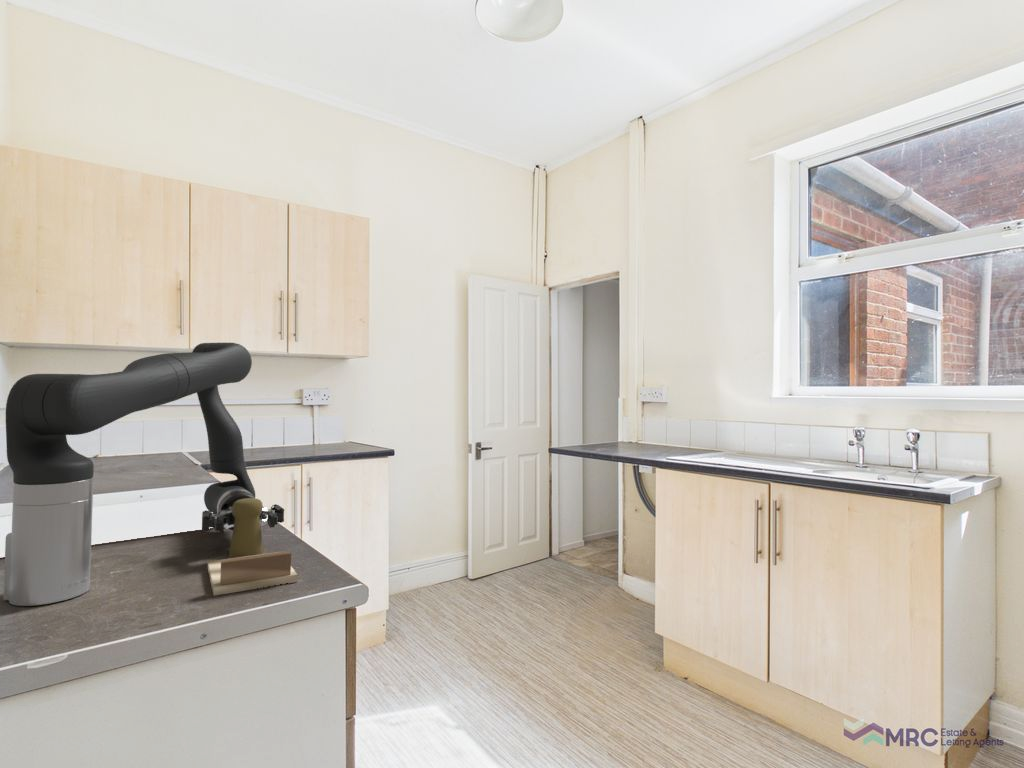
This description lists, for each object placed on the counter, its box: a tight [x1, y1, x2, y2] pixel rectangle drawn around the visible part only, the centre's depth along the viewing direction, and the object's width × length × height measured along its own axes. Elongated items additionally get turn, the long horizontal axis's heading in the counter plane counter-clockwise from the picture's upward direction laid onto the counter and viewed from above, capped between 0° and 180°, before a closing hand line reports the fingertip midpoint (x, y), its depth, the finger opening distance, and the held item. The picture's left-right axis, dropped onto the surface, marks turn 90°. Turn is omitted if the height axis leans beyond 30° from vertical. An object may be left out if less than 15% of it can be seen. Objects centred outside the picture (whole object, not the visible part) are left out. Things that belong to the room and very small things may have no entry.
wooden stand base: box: [207, 550, 298, 597], centre depth 91 cm, size 15×12×5 cm
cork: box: [227, 497, 265, 559], centre depth 101 cm, size 6×6×11 cm
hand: (247, 524), depth 100 cm, fingers open, 8 cm apart
